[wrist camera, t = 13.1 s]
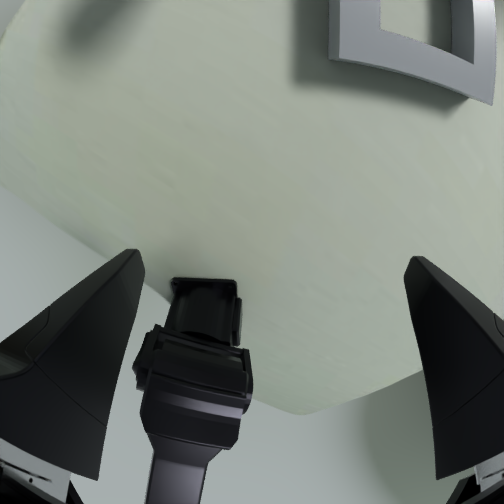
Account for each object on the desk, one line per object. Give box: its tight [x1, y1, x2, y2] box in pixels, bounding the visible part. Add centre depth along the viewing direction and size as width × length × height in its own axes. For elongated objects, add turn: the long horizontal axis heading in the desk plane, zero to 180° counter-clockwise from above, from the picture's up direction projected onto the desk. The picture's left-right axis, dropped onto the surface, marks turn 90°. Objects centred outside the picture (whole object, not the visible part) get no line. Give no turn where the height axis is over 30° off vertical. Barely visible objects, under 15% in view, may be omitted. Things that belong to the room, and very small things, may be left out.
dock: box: [328, 0, 497, 106], centre depth 9 cm, size 13×13×3 cm
